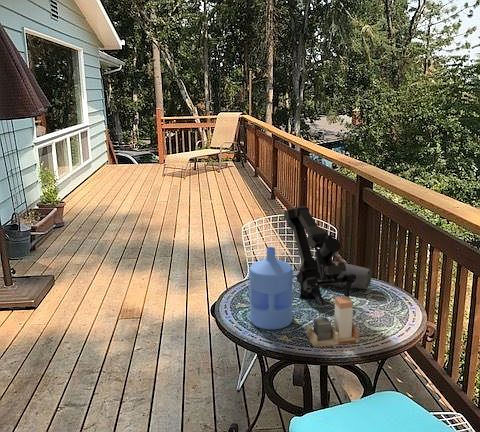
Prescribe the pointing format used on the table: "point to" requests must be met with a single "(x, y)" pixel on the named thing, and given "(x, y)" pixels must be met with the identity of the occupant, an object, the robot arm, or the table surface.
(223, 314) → the table surface
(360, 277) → the bluetooth speaker
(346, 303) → the plug
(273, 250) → the water jug
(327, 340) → the comb rack
